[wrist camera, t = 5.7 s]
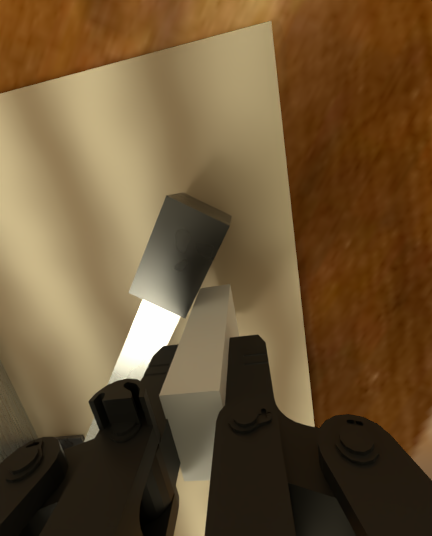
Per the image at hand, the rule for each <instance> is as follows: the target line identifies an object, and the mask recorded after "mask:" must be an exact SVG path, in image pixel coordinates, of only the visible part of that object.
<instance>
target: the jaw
mask: <svg viewBox="0 0 432 536" xmlns="http://www.w3.org/2000/svg"><path fill="white" fill-rule="evenodd" d="M231 217H232V216H231V215H229V214H227V213H225V212H223V211H221V210H219V209H217V208H215V207H213V206H210V205H208V204H206V203H204V202H202V201H200V200H198V199H196V198H194V197H192V196H190V195H188V194H186V193H184V192H182V193H177V194H171V195H166V197H165V200H164V203H163V205H162V208H161V210H160V213H159V215H158V218H157V221H156V223H155V226H154V228H153V231H152V233H151V236H150V239H149V241H148V244H147V246H146V249H145V251H144V254H143V256H142V259H141V262H140V264H139V267H138V269H137V272H136V274H135V277H134V280H133V282H132V285H131V287H130V290H129V292H128V293H130V294H132V295H134V296H136V297H138V298H141V299H143V300H142V302H141V305H140V307H139V310H138V312H137V314H136V317H135V319H134V322H133V324H132V327H131V329H130V331H129V334H128V336H127V339H126V341H125V344H124V346H123V348H122V351H121V353H120V356H119V358H118V360H117V363H116V365H115V368H114V370H113V373H112V375H111V377H110V380H109V382H108V385H109V384H111V383H113V382H115V381H118V380H123V379H127V378H130V379H138V380H140V381H141V379H142V377H144V373H145V371H146V369H147V368H148V365H149V363H150V361H151V359H152V357H153V355H154V354H155V353H156V352H157V351H158V350H159V349H161V348H162V347H163V346H167V344H168V342H169V340H170V338H171V336H172V333H173V331H174V329H175V327H176V325H177V323H178V321H179V319H180V317H183V318H186V316H187V314H188V312H189V310H190V308H191V306H192V304H193V301H194V299H195V297H196V295H197V293H198V291H199V289H200V287H201V285H202V283H203V281H204V279H205V277H206V275H207V272H208V270H209V268H210V266H211V264H212V262H213V260H214V258H215V256H216V254H217V252H218V250H219V248H220V246H221V244H222V241H223V239H224V237H225V235H226V233H227V231H228V229H229V227H230V223H231ZM98 431H99V428H98V426H97V423H96V420H95V418H94V419H93V421H92V424H91V426H90V428H89V431H88V433H87V436H86V438H85V441H84V442H86V441H89V440H92V439H94V438H95V437H96V435H97V433H98Z"/></svg>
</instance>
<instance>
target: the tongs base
mask: <svg viewBox="0 0 432 536" xmlns="http://www.w3.org/2000/svg"><path fill="white" fill-rule="evenodd" d="M54 438H56V439H57V440H59V442H60V444H61V447H62V449H63V450H64V449H67V448H69V447H72V446H75V445H78V444H81V443H84V441H85V438H84V436H83V435H72V436H60V437H54ZM35 439H38V436H37V434H36V432H35V430H34V428H33V426H32V424H31V422H30V420H29V418H28V416H27V414H26V411H25V409H24V407H23V405H22V403H21V401H20V399H19V397H18V395H17V393H16V391H15V389H14V387H13V385H12V383H11V381H10V378H9V376H8V374H7V372H6V370H5V368H4V366H3V364H2V362H1V360H0V463H1V462H2V461H4V460H5V459H6V458H7V457H8V456H9V455H11V454H12V453H13V452H14V451H16V450H17V449H18V448H20V447H21V446H23V445H25V444H27V443H28V442H30V441H32V440H35Z"/></svg>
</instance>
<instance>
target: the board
mask: <svg viewBox="0 0 432 536" xmlns="http://www.w3.org/2000/svg"><path fill="white" fill-rule="evenodd" d="M182 192H184V193H186V194H188V195H190V196H192V197H194V198H196V199H198V200H200V201H202V202H204V203H206V204H208V205H210V206H213V207H215V208H217V209H219V210H221V211H223V212H225V213H227V214H229V215H231V216H232V217H231V223H230V227H229V229H228V231H227V233H226V235H225V237H224V239H223V241H222V244H221V246H220V248H219V250H218V252H217V254H216V256H215V258H214V260H213V262H212V264H211V266H210V268H209V270H208V272H207V275H206V277H205V279H204V281H203V283H202V285H201V287H200V288H205V287H213V286H220V285H227V284H230V286H231V291H232V297H233V303H234V308H235V314H236V319H237V325H238V331H239V336H248V335H257V334H258V335H259V336H260V337H261V338H262V339H263V340H264V341H265V342H266V348H267V355H268V361H269V367H270V374H271V380H272V387H273V393H274V399H275V402H276V405H277V407H278V408H279V410H280V411H281V412H282V413H283V414H284V415H285V416H286V417H288V418H289V419H291V420H293V421H295V422H297V423H301V424H304V425H308V426H312V427H315V425H314V415H313V406H312V397H311V387H310V378H309V369H308V359H307V350H306V341H305V331H304V322H303V313H302V303H301V294H300V285H299V275H298V266H297V257H296V247H295V238H294V229H293V219H292V210H291V200H290V191H289V182H288V172H287V163H286V154H285V144H284V135H283V126H282V116H281V107H280V98H279V88H278V79H277V70H276V60H275V51H274V42H273V32H272V23H271V21H268V22H265V23H261V24H257V25H253V26H250V27H246V28H242V29H239V30H235V31H231V32H227V33H224V34H220V35H216V36H213V37H209V38H205V39H201V40H198V41H194V42H190V43H187V44H183V45H179V46H176V47H172V48H168V49H164V50H161V51H157V52H153V53H150V54H146V55H142V56H138V57H135V58H131V59H127V60H124V61H120V62H116V63H112V64H109V65H105V66H101V67H98V68H94V69H90V70H86V71H83V72H79V73H75V74H72V75H68V76H64V77H60V78H57V79H53V80H49V81H46V82H42V83H38V84H34V85H31V86H27V87H23V88H20V89H16V90H12V91H9V92H5V93H1V94H0V360H1V362H2V364H3V366H4V368H5V370H6V372H7V374H8V376H9V378H10V381H11V383H12V385H13V387H14V389H15V391H16V393H17V395H18V397H19V399H20V401H21V403H22V405H23V407H24V409H25V411H26V414H27V416H28V418H29V420H30V422H31V424H32V426H33V428H34V430H35V432H36V434H37V436H38V438H41V437H60V436H72V435H83V436H84V438H86V436H87V433H88V431H89V428H90V426H91V424H92V421H93V419H94V415H93V413H92V410H91V408H90V405H89V402H88V401H89V400H90V399H91V398H92V397H93V396H94V394H95V393H96V392H98V391H99V390H101V389H102V388H104V387H105V386H107V385H108V382H109V380H110V377H111V375H112V373H113V370H114V368H115V365H116V363H117V360H118V358H119V356H120V353H121V351H122V348H123V346H124V344H125V341H126V339H127V336H128V334H129V331H130V329H131V327H132V324H133V322H134V319H135V317H136V314H137V312H138V310H139V307H140V305H141V302H142V300H143V299H141V298H138V297H136V296H134V295H132V294H130V293H128V292H129V290H130V287H131V285H132V282H133V280H134V277H135V274H136V272H137V269H138V267H139V264H140V262H141V259H142V256H143V254H144V251H145V249H146V246H147V244H148V241H149V239H150V236H151V233H152V231H153V228H154V226H155V223H156V221H157V218H158V215H159V213H160V210H161V208H162V205H163V203H164V200H165V197H166V195H171V194H177V193H182ZM199 290H200V289H199ZM198 292H199V291H198ZM197 295H198V293H197ZM197 295H196V297H197ZM196 297H195V299H194V301H193V304H192V306H191V308H190V310H189V312H188V314H187V316H186V318H183V317H180V319H179V321H178V323H177V325H176V327H175V329H174V331H173V333H172V336H171V338H170V340H169V342H168V344H167V346H168V345H177V344H179V342H180V339H181V337H182V334H183V332H184V329H185V326H186V324H187V321H188V318H189V316H190V313H191V311H192V308H193V305H194V303H195V300H196ZM209 486H210V480H205V481H184V479H183V475H182V472H181V468H179V473H178V478H177V482H176V488H177V491H178V494H179V510H178V515H177V521H176V526H175V531H174V536H205V526H206V516H207V506H208V496H209Z"/></svg>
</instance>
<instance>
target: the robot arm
mask: <svg viewBox="0 0 432 536" xmlns="http://www.w3.org/2000/svg"><path fill="white" fill-rule="evenodd" d="M88 402H89V405H90V408H91V410H92V413H93V415H94V418H95V420H96V423H97V426H98V428H99V431H98V433H97V435H96V437H95V438H94V439H92V440H89V441H86V442H84V443H81V444H78V445H75V446H72V447H69V448H67V449H64V450H63V449H62V447H61V444H60V442H59V440H57V439H56V438H54V437H41V438H38V439H35V440H32V441H30V442H28V443H27V444H25V445H23V446H21V447H20V448H18V449H17V450H16V451H14V452H13V453H12V454H11V455H9V456H8V457H7V458H6V459H5V460H4V461H2V462H1V463H0V536H174V531H175V526H176V521H177V515H178V510H179V494H178V491H177V488H176V482H177V478H178V473H179V468H181V472H182V475H183V479H184V481H205V480H210V486H209V496H208V506H207V516H206V526H205V536H432V481H431V479H430V478H429V477H428V476H427V475H426V474H425V473H424V472H423V470H422V469H421V468H420V467H419V466H418V465H417V464H416V463H415V462H414V461H413V459H412V458H411V457H410V456H409V455H408V454H407V453H406V452H405V451H404V449H403V448H402V447H401V446H400V445H399V444H398V443H397V442H396V441H395V439H394V438H393V437H392V436H391V435H390V434H389V433H388V432H386V431H385V430H384V429H383V428H382V427H381V426H379V425H378V424H377V423H374V422H372V421H370V420H368V419H366V418H364V417H360V416H355V415H349V414H347V415H337V416H334V417H332V418H330V419H328V420H326V421H325V422H324V423H323V424H322V426H321V427H320V428H317V427H312V426H308V425H304V424H301V423H297V422H295V421H293V420H291V419H289V418H288V417H286V416H285V415H284V414H283V413H282V412H281V411H280V410H279V408H278V407H277V405H276V402H275V399H274V393H273V387H272V380H271V374H270V367H269V361H268V355H267V348H266V342H265V341H264V340H263V339H262V338H261V337H260V336H259V335H258V334H257V335H248V336H239V331H238V325H237V319H236V314H235V308H234V303H233V297H232V291H231V286H230V284H227V285H220V286H213V287H205V288H200V290H199V292H198V295H197V297H196V300H195V303H194V305H193V308H192V311H191V313H190V316H189V318H188V321H187V324H186V326H185V329H184V332H183V334H182V337H181V339H180V342H179V344H177V345H168V346H163V347H162V348H161V349H159V350H158V351H157V352H156V353H155V354H154V355H153V357H152V359H151V361H150V363H149V365H148V368H147V369H146V371H145V373H144V377H142V379H141V381H140V380H138V379H130V378H127V379H123V380H118V381H115V382H113V383H111V384H109V385H107V386H105V387H104V388H102V389H101V390H99V391H98V392H96V393H95V394H94V396H93V397H92V398H91V399H90V400H89V401H88Z"/></svg>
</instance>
